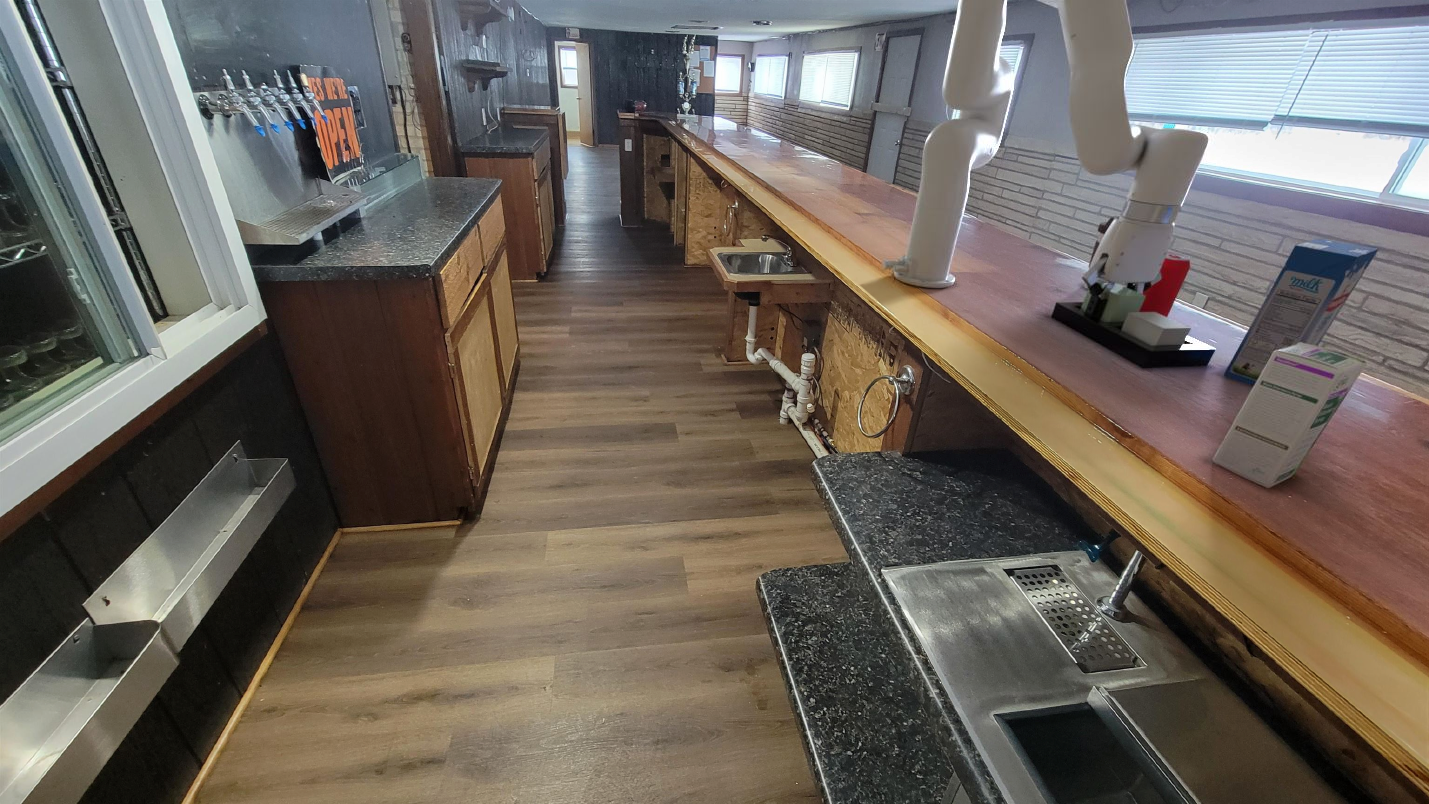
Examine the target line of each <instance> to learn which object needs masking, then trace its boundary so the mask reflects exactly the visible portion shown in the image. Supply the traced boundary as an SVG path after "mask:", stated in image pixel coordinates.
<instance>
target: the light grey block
mask: <svg viewBox="0 0 1429 804" xmlns="http://www.w3.org/2000/svg"><path fill="white" fill-rule="evenodd" d="M1121 330H1122V331H1124V332H1126V333H1128V334H1130V335H1132V336H1134V337H1136V338H1138V339H1140V340H1142V341H1144V342H1146V343H1148V344H1150V345H1152V346H1153V345H1183V344H1184V342H1185V340H1186V338H1187V336H1189V333H1190V331H1191V330H1192V327H1190V326H1189V325H1188V326H1187V325H1185V324H1183V323H1181V322H1178V321H1176V320H1174V319H1172V318H1169V317H1168V316H1167V317H1165V316H1163V315H1161V314H1158V313H1156V312H1129V313H1128V315H1127V318H1126V320H1125V322H1124V325H1123V327H1122V329H1121Z"/></svg>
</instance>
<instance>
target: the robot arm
mask: <svg viewBox="0 0 1429 804" xmlns="http://www.w3.org/2000/svg"><path fill="white" fill-rule="evenodd" d="M1036 1H1037V2H1039V3H1042V4H1046V5H1048V6H1050V7H1053V8H1054V9H1057V11H1058V15H1059V20H1060V25H1061V29H1062V34H1063V40H1064V46H1065V50H1066V56H1067V61H1068V66H1069V72H1070V76H1069V87H1068V89H1069V92H1068V93H1069V94H1068V96H1069V97H1068V109H1069V110H1068V113H1069V119H1070V120H1069V123H1070V128H1071V133H1072V137H1073V142H1074V148H1075V152H1076V156H1077V159H1078V162H1079V163H1080V165H1081V167H1082V168H1083V170H1085V171H1086V172H1087V173H1089V174H1091V175H1094V176H1096V177H1097V176H1098V177H1104V176H1105V177H1106V176H1111V175H1114V174H1125V173H1135V176H1134V178H1133V180H1132V184H1131V186H1130V189H1129V191H1128V193H1127V196H1126V198H1125V201H1124V203H1123V205H1122V209H1121V211H1120V214H1119V215H1118V216H1119V218H1117V219H1114V220H1113V222H1112V223H1111V225H1110V226H1109V228H1108V229H1107V231H1106V233H1105V235H1104V236H1103V238H1102V240H1101V242H1100V244H1099V246H1098V248H1097V251H1096V253H1095V255H1094V257H1093V260H1092V262H1091V264H1090V267H1089V266H1088V270H1087V271H1086V272H1085V273H1084V274H1083V275H1082V276H1081V279H1082V280H1083V282H1084V284H1085V283H1086V284H1087V287H1088V288H1089V290H1090V291H1089V293H1090V294H1091V297H1090V300H1089V302H1088V305H1087V308H1086V310H1085V312H1086V313H1088V314H1090V315H1092V316H1094V317H1096V318H1098V319H1100V318H1101V316H1102V313H1103V311H1104V308H1105V306H1106V304H1107V301H1108V300H1107V299H1105V298H1106V297H1107V295H1108V294H1109V292H1110V291H1111V289H1112V288H1113V286H1114V285H1115V283H1125V287H1126V288H1129V289H1131V290H1133V291H1136V292H1138V293H1141V294H1143V293H1144V292H1145V291H1146V290H1148V289H1149V288H1150V287H1151V286H1152V285H1154V284H1155V283H1157V282H1158V281H1160V280H1161V278H1162V276H1161V272H1160V269H1161V266H1162V264H1163V262H1164V259H1165V257H1166V254H1167V252H1169V248H1170V245H1171V242H1172V238H1173V235H1174V230H1175V221H1176V220H1177V217H1178V215H1179V214H1180V213H1181V212H1182V206H1183V204H1184V202H1185V199H1186V196H1187V195H1188V192H1189V190H1190V188H1191V185H1192V184H1193V181H1194V178H1195V176H1196V174H1197V171H1198V169H1199V167H1200V165H1201V163H1202V160H1203V158H1204V156H1205V153H1206V151H1207V149H1208V146H1209V144H1210V135H1209V134H1208V133H1207V132H1205V131H1202V130H1196V129H1185V128H1155V127H1151V126H1146V125H1142V124H1137V123H1131V121H1130V115H1129V109H1128V105H1127V98H1126V75H1127V70H1128V66H1129V65H1130V62H1131V59H1132V57H1133V54H1134V49H1135V42H1134V38H1133V37H1134V36H1133V33H1132V27H1131V20H1130V16H1129V11H1128V10H1129V9H1128V5H1127V0H1036ZM1007 2H1008V0H958V3H957V10H956V15H955V22H954V27H953V32H952V37H951V40H950V44H949V49H948V55H947V60H946V66H945V70H944V77H943V82H942V87H941V95H942V99H943V102H944V103H945V105H946V106H947V107H949V108H950V109H952V110H955V111H959V114H958V115H959V116H958V118H952V119H948V120H945V121H943V122H941V123H939V124H938V125H936V126H935V127H934V128H933V129H932V130H931V132H930V133H929V134H928V136H927V137H926V139H925V142H924V145H923V150H922V158H921V159H922V160H921V175H920V182H919V189H918V193H917V199H916V204H915V208H914V213H913V217H912V223H911V227H910V232H909V237H908V241H907V246H906V251H905V254H902V255H900V257H899V258H898V259H896V260H883V261H882V263H881V268H882V270H885V271H886V270H892V272H894V274H893V276H894V278H895V279H896V280H897V281H900V282H902V283H903V284H904V283H905V284H907V285H911V286H915V287H920V288H921V287H922V288H931V289H942V288H948V287H951V286H953V285H954V284H955V279H956V277H954V275H952V274H951V273H950V270H951V269H950V268H951V264H952V261H953V255H954V253H955V248H956V244H957V241H958V236H959V233H960V229H961V225H962V221H963V217H964V214H965V210H966V205H967V201H968V196H969V190H970V177H971V175H970V174H971V170H976V169H979V168H982V167H984V166H985V165H986V164H988V163H990V161H991V160H993V158H994V157H995V155H996V153H997V151H998V149H999V146H1000V144H1001V140H1002V137H1003V132H1004V128H1005V125H1006V120H1007V116H1008V112H1009V108H1010V104H1011V100H1012V95H1013V91H1014V85H1015V84H1014V83H1015V82H1014V81H1015V78H1014V72H1013V68H1012V66H1011V64H1010V62H1008V60H1006V59H1005V58H1004V57H1002V56H1000V50H1001V44H1002V39H1003V36H1004V34H1005V33H1004V32H1005V28H1006V22H1007V21H1006V20H1007ZM1097 276H1099V277H1098V278H1097ZM1096 278H1097V280H1096ZM1103 283H1106V284H1105V286H1104V287H1103V289H1102V287H1101V286H1102V284H1103Z"/></svg>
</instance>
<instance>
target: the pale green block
mask: <svg viewBox="0 0 1429 804" xmlns="http://www.w3.org/2000/svg"><path fill="white" fill-rule="evenodd" d="M1105 284H1106V283H1103V284H1102V286H1101V287H1102V289H1103V287H1104V286H1105ZM1089 291H1090V290H1089V289H1087V292H1086V294H1085V297H1084V299H1083V301H1082V302H1083V304H1082V307H1081V309H1080V310H1082V311H1084V312H1085V310H1086V308H1087V305H1088V302H1089V300H1090V297H1091V294H1090V293H1089ZM1145 297H1146V296H1145V295H1143V294H1141V293H1138V292H1136V291H1133V290H1131V289H1129V288H1126V287H1124V286H1121V285H1119V284H1117V283H1115V285H1114V286H1113V288H1112V289H1111V291H1110V292H1109V294H1108V295H1107V297H1106V298H1105V299H1107V300H1108V301H1107V304H1106V306H1105V308H1104V311H1103V313H1102V316H1101V318H1100V320H1102V321H1104V322H1125V320H1126V318H1127V315H1128V313H1129V312H1139V311H1140V308H1141V306H1142V304H1143V302H1144V299H1145Z"/></svg>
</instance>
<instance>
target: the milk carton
mask: <svg viewBox="0 0 1429 804" xmlns="http://www.w3.org/2000/svg"><path fill="white" fill-rule="evenodd" d="M1379 250H1380V249H1379V248H1376V247H1371V246H1370V247H1369V246H1365V245H1358V244H1353V243H1348V242H1341V241H1336V240H1331V239H1325V238H1315V239H1313V240H1312V239H1311V240H1309V241H1305V242H1301V243H1299V244H1298V243H1297V244H1295V245H1294V247H1293V249H1292V250H1291V252H1290V254H1289V256H1288V257H1287V260H1286V261H1285V262H1284V265H1283V267H1282V268H1281V270H1280V272H1279V274H1278V275H1277V278H1276V279H1275V281H1274V282H1273V284H1272V287H1271V288H1270V290H1269V292H1268V294H1267V295H1266V297H1265V298H1264V301H1263V303H1262V304H1261V306H1260V308H1259V309H1258V312H1257V314H1256V315H1255V317H1254V319H1253V321H1252V323H1251V324H1250V326H1249V328H1248V330H1247V331H1246V333H1245V335H1244V337H1243V338H1242V340H1241V342H1240V343H1239V346H1238V348H1237V349H1236V352H1235V353H1234V355H1233V357H1232V358H1231V360H1230V362H1229V364H1228V366H1227V367H1226V369H1225V371H1224V373H1223V375H1222V376H1223V377H1227V378H1229V379H1232V380H1235V381H1237V382H1240V383H1244V384H1246V385H1249V386H1252V387H1254V385H1255V383H1256V382H1257V380H1258V378H1259V376H1260V375H1261V373H1262V371H1263V369H1264V368H1265V366H1266V364H1267V362H1268V361H1269V359H1270V357H1271V355H1272V353H1273V351H1276V350H1279V349H1282V348H1285V347H1288V346H1293V345H1296V344H1297V343H1299V342H1302V343H1305V344H1310V345H1315V346H1319V345H1320V344H1321V341H1323V339H1324V337H1325V336H1326V334H1327V332H1328V331H1329V330H1330V328H1331V326H1332V324H1333V323H1334V321H1335V319H1336V318H1337V316H1338V315H1339V314H1340V312H1341V310H1342V309H1343V307H1344V305H1345V304H1346V302H1347V301H1348V299H1349V297H1350V296H1351V294H1352V292H1353V291H1354V289H1355V288H1356V286H1357V285H1358V283H1359V281H1360V280H1361V278H1362V277H1363V275H1364V273H1366V270H1367V269H1368V267H1369V266H1370V264H1371V262H1372V261H1373V259H1374V258H1375V257H1376V255H1377V253H1378V251H1379Z"/></svg>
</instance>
